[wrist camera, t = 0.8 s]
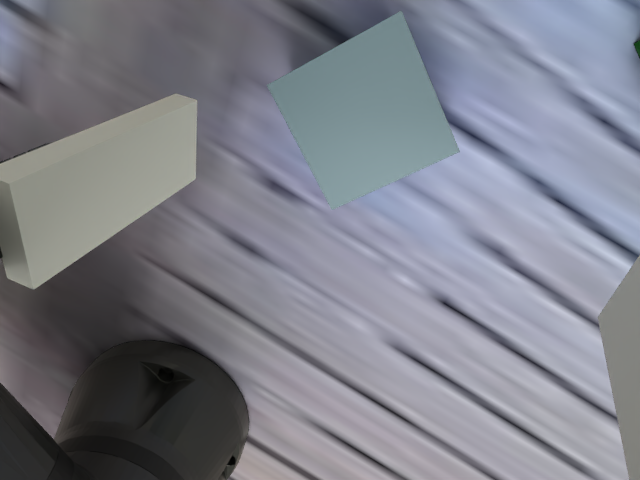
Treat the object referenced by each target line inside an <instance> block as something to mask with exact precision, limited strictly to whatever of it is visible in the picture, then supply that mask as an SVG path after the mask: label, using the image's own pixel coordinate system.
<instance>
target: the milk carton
mask: <svg viewBox="0 0 640 480" xmlns="http://www.w3.org/2000/svg"><path fill="white" fill-rule="evenodd" d="M634 46H635V48H636V51H637V53H638V55H639V58H640V40H639V41H638V42H636V43H634Z"/></svg>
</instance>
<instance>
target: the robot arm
mask: <svg viewBox="0 0 640 480" xmlns="http://www.w3.org/2000/svg"><path fill="white" fill-rule="evenodd" d="M196 140H197V100H195V99H192V98H189V97H185V96H182V95H179V94H174V95H171V96H169V97H166V98H164V99H161V100H158V101H156V102H153V103H151V104H148V105H146V106H143V107H141V108H138V109H136V110H133V111H131V112H128V113H126V114H123V115H121V116H118V117H116V118H113V119H111V120H108V121H106V122H103V123H101V124H98V125H96V126H93V127H91V128H88V129H86V130H83V131H81V132H78V133H76V134H73V135H71V136H68V137H66V138H63V139H61V140H58V141H56V142H53V143H48V144H44V145H42V146H39V147H37V148H34V149H32V150H29V151H28V153H25V152H24V153H22V154H19V155H17V156H14V158H13V159H11V158H9V159H6V160H4V161H1V162H0V258H2V261H3V264H4V268H5V272H6V275H7V278H8V279H10V280H12V281H15V282H17V283H19V284H22V285H24V286H26V287H28V288H31V289H33V290H34V289H36V288H37V287H38V286H40V285H41V284H43V283H44V282H46V281H47V280H49V279H50V278H52V277H53V276H55V275H56V274H58V273H59V272H60V271H62V270H63V269H65V268H66V267H68V266H69V265H71V264H72V263H74V262H75V261H77V260H78V259H80V258H81V257H82V256H84V255H85V254H87V253H88V252H90V251H91V250H93V249H94V248H96V247H97V246H99V245H100V244H102V243H103V242H104V241H106V240H107V239H109V238H110V237H112V236H113V235H115V234H116V233H118V232H119V231H121V230H122V229H124V228H125V227H126V226H128V225H129V224H131V223H132V222H134V221H135V220H137V219H138V218H140V217H141V216H143V215H144V214H146V213H147V212H148V211H150V210H151V209H153V208H154V207H156V206H157V205H159V204H160V203H162V202H163V201H165V200H166V199H168V198H169V197H170V196H172V195H173V194H175V193H176V192H178V191H179V190H181V189H182V188H184V187H185V186H187V185H188V184H190V183H191V182H192V181H194V180H195V179H196ZM598 322H599V327H600V332H601V337H602V342H603V347H604V352H605V357H606V363H607V368H608V373H609V378H610V383H611V388H612V393H613V398H614V403H615V409H616V414H617V419H618V424H619V429H620V434H621V439H622V444H623V449H624V454H625V460H626V465H627V470H628V475H629V480H640V255H639V257H638V258H637V260H636V261H635V263H634V264H633V266H632V267H631V269H630V270H629V272H628V273H627V275H626V276H625V278H624V279H623V281H622V282H621V284H620V285H619V287H618V288H617V289H616V291H615V292H614V294H613V295H612V297H611V298H610V300H609V301H608V303H607V304H606V306H605V307H604V309H603V310H602V312H601V313H600V315H599V316H598ZM248 430H249V418H248V412H247V408H246V405H245V402H244V400H243V397H242V395H241V393H240V392H239V390H238V388H237V387H236V385H235V384H234V383H233V381H232V380H231V379H230V378H229V377H228V376H227V375H226V374H225V372H223V371H222V370H221V369H220V368H219V367H218V366H217V365H215V364H214V363H213V362H211V361H210V360H208V359H207V358H205V357H204V356H202V355H200V354H198V353H196V352H194V351H192V350H190V349H187V348H185V347H182V346H179V345H175V344H171V343H166V342H160V341H134V342H128V343H124V344H121V345H118V346H115V347H113V348H111V349H109V350H107V351H106V352H104V353H103V354H101V355H100V356H99V357H98V358H97V359H96V360H95V361H94V362H93V363H92V364H91V365H90V366H89V367H88V368H87V370H86V371H85V372H84V373H83V374H82V375H81V376H80V378H79V379H78V381H77V382H76V384H75V386H74V387H73V389H72V391H71V394H70V397H69V399H68V403H67V406H66V408H65V411H64V413H63V416H62V419H61V421H60V424H59V427H58V429H57V432H56V435H55V438H54V439H53V438H52V437H51V436H50V435H49V434H48V433H47V432H46V431H45V430H44V429H43V428H42V426H41V425H40V424H39V423H38V422H37V421H36V420H35V419H34V418H33V417H32V416H31V415H30V414H29V413H28V412H27V411H26V409H25V408H24V407H23V406H22V405H21V404H20V403H19V402H18V401H17V400H16V399H15V398H14V397H13V396H12V395H11V393H10V392H9V391H8V390H7V389H6V388H5V387H4V386H3V385H2V384H1V383H0V480H227V479H228V477H229V476H230V475H231V474H232V472H233V471H234V469H235V468H236V466H237V464H238V462H239V460H240V457H241V454H242V451H243V448H244V445H245V442H246V439H247V435H248Z"/></svg>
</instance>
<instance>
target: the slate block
mask: <svg viewBox="0 0 640 480" xmlns="http://www.w3.org/2000/svg"><path fill="white" fill-rule="evenodd" d="M267 87H268V89H269V91H270V92H271V94H272V96H273V98H274V100H275V102H276V104H277V106H278V108H279V110H280V112H281V114H282V115H283V117H284V119H285V121H286V123H287V125H288V127H289V129H290V131H291V133H292V135H293V137H294V138H295V140H296V142H297V144H298V146H299V148H300V150H301V152H302V154H303V156H304V158H305V160H306V161H307V163H308V165H309V167H310V169H311V171H312V173H313V175H314V177H315V179H316V181H317V183H318V184H319V186H320V188H321V190H322V192H323V194H324V196H325V198H326V200H327V202H328V204H329V206H330V207H331V209H332V210H333V209H335V208H338V207H340V206H342V205H344V204H346V203H349V202H351V201H353V200H355V199H357V198H359V197H362V196H364V195H366V194H368V193H370V192H373V191H375V190H377V189H379V188H381V187H384V186H386V185H388V184H390V183H392V182H395V181H397V180H399V179H401V178H403V177H406V176H408V175H410V174H412V173H414V172H416V171H419V170H421V169H423V168H425V167H427V166H430V165H432V164H434V163H436V162H438V161H441V160H443V159H445V158H447V157H449V156H452V155H454V154H456V153H458V152H460V151H459V148H458V146H457V144H456V141H455V139H454V136H453V134H452V132H451V129H450V127H449V124H448V122H447V119H446V117H445V115H444V112H443V110H442V107H441V105H440V103H439V100H438V98H437V95H436V93H435V90H434V88H433V86H432V83H431V81H430V78H429V76H428V74H427V71H426V69H425V66H424V64H423V61H422V59H421V57H420V54H419V52H418V49H417V47H416V45H415V42H414V40H413V37H412V35H411V32H410V30H409V28H408V25H407V23H406V20H405V18H404V16H403V13H402V11H400V12H398V13H396V14H395V15H393V16H391V17H389V18H387V19H386V20H384V21H382V22H380V23H378V24H377V25H375V26H373V27H371V28H369V29H367V30H366V31H364V32H362V33H360V34H358V35H357V36H355V37H353V38H351V39H349V40H348V41H346V42H344V43H342V44H340V45H339V46H337V47H335V48H333V49H331V50H330V51H328V52H326V53H324V54H322V55H321V56H319V57H317V58H315V59H313V60H312V61H310V62H308V63H306V64H304V65H303V66H301V67H299V68H297V69H295V70H293V71H292V72H290V73H288V74H286V75H284V76H283V77H281V78H279V79H277V80H275V81H274V82H272V83H270V84H268V85H267Z"/></svg>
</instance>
